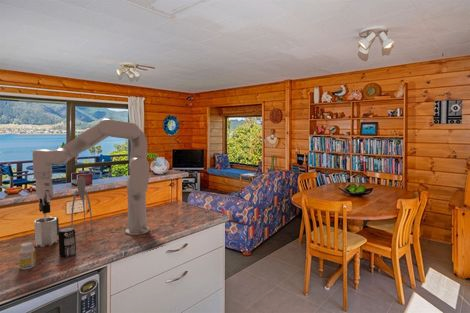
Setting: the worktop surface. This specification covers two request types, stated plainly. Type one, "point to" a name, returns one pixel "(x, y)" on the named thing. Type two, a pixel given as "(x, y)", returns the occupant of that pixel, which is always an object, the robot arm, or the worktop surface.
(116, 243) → the worktop surface
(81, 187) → the juicer
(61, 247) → the beverage can
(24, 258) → the supplement bottle
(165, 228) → the worktop surface
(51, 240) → the press carafe
